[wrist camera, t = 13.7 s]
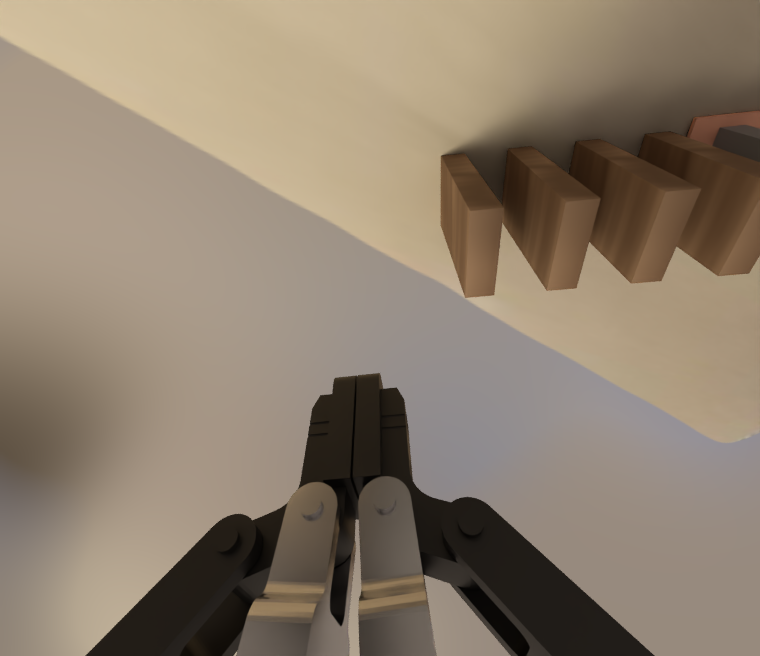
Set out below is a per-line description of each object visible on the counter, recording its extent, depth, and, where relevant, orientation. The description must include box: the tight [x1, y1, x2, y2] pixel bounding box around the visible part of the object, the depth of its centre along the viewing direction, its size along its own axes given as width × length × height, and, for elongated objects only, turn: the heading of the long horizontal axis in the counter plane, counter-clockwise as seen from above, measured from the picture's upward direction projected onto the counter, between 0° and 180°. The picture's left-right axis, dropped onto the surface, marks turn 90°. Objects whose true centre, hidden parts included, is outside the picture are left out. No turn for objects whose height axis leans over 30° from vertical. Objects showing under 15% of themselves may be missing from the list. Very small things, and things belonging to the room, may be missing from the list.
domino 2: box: [502, 146, 601, 291], centre depth 23 cm, size 2×5×10 cm, turn 6°
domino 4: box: [638, 131, 760, 276], centre depth 23 cm, size 2×5×10 cm, turn 5°
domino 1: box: [441, 153, 504, 298], centre depth 23 cm, size 2×5×10 cm, turn 5°
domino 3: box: [569, 139, 701, 283], centre depth 23 cm, size 2×5×10 cm, turn 5°
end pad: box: [687, 110, 760, 146], centre depth 26 cm, size 5×6×1 cm
